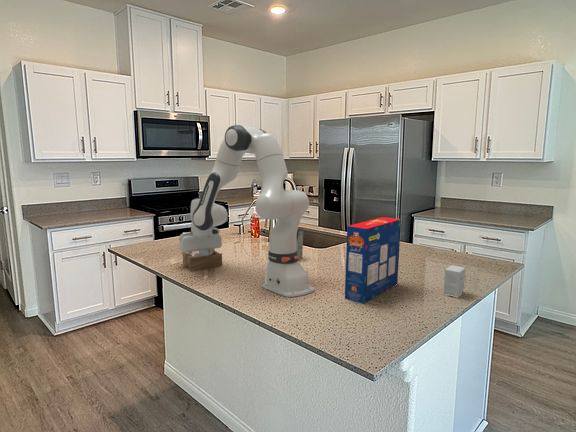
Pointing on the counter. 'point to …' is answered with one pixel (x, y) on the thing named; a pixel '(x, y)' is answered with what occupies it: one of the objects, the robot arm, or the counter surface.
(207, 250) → the rounded end plank
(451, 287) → the small box
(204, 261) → the wooden u-shaped block
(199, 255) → the dark gray rectangular block
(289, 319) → the counter surface
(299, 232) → the coffee box
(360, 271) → the blue red retail box
